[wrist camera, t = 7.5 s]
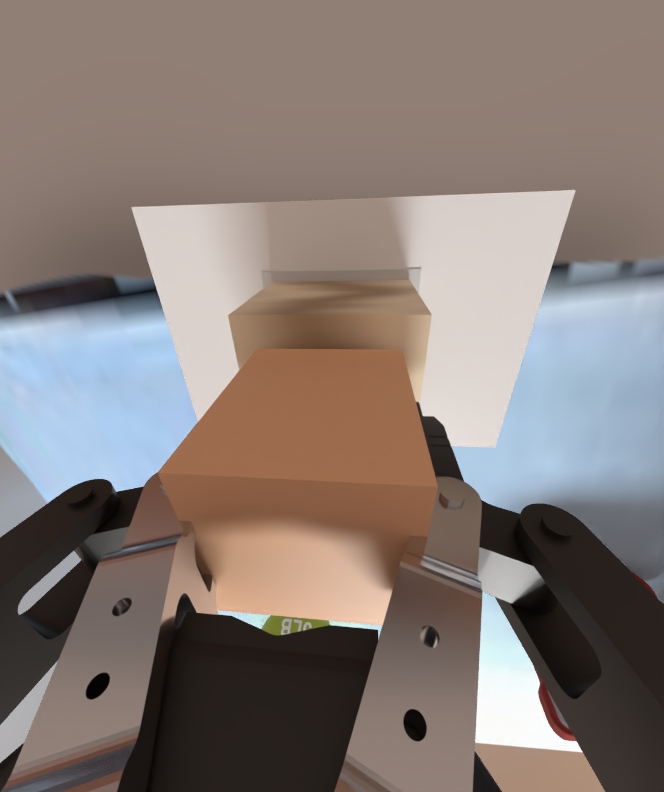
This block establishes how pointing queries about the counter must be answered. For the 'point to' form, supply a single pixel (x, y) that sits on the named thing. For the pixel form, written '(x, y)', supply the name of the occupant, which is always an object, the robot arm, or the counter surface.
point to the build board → (366, 261)
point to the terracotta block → (307, 483)
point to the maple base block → (336, 320)
